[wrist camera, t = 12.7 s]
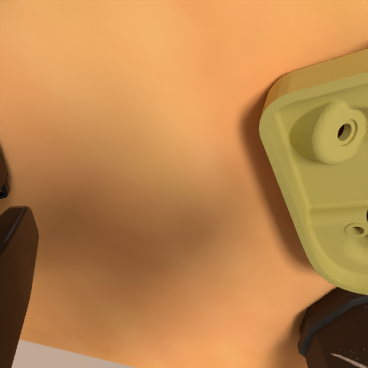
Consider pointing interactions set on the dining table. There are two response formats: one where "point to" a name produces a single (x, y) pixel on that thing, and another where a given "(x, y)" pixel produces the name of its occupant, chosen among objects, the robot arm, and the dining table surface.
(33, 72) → the dining table surface
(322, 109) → the plastic component
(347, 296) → the patterned black pot
